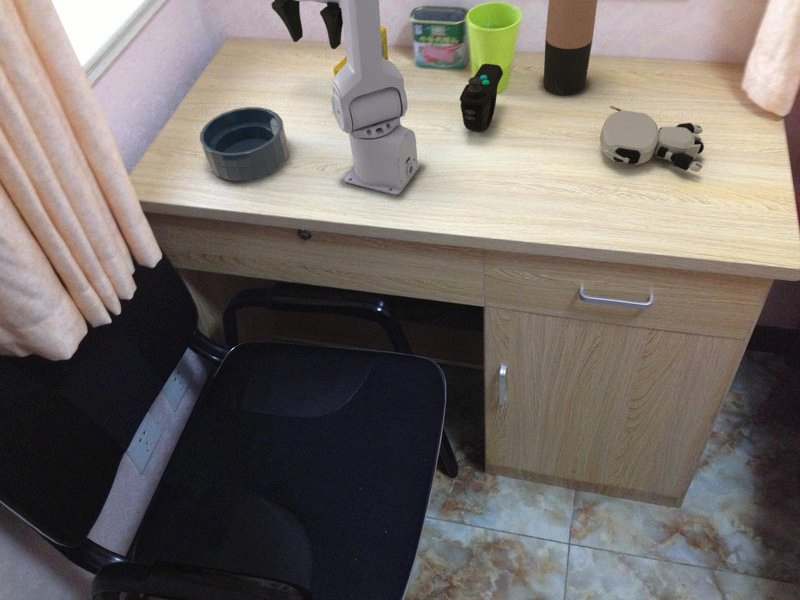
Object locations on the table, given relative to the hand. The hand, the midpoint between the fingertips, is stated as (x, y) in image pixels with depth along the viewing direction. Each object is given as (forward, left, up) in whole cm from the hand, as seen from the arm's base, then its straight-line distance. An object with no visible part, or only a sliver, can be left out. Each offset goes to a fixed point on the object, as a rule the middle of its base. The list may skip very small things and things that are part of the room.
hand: (316, 42), depth 116 cm
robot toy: (-56, -2, -11) cm, 57 cm away
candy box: (-6, -4, -11) cm, 13 cm away
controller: (-29, -1, -11) cm, 31 cm away
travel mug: (-38, -17, -11) cm, 43 cm away
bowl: (+3, +21, -10) cm, 23 cm away
